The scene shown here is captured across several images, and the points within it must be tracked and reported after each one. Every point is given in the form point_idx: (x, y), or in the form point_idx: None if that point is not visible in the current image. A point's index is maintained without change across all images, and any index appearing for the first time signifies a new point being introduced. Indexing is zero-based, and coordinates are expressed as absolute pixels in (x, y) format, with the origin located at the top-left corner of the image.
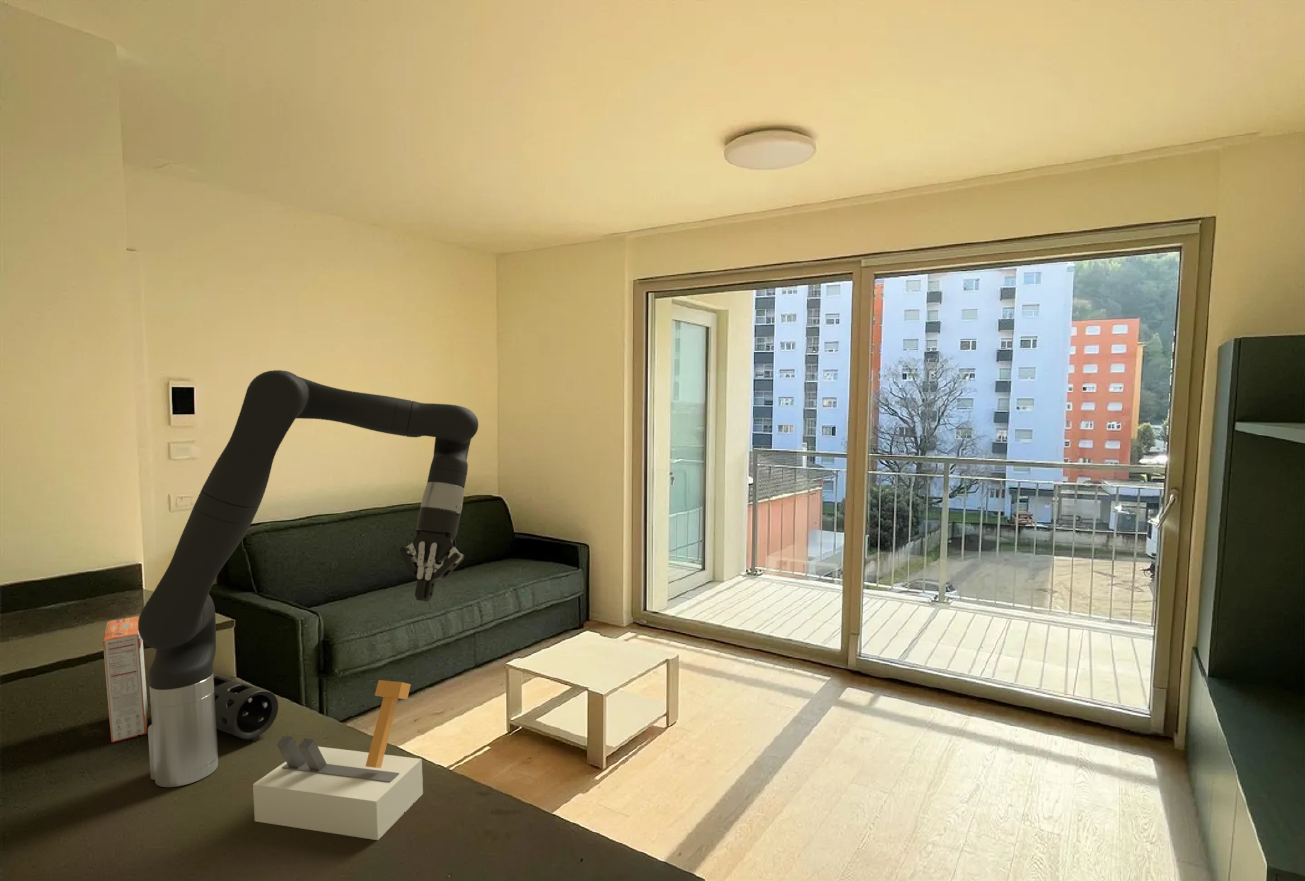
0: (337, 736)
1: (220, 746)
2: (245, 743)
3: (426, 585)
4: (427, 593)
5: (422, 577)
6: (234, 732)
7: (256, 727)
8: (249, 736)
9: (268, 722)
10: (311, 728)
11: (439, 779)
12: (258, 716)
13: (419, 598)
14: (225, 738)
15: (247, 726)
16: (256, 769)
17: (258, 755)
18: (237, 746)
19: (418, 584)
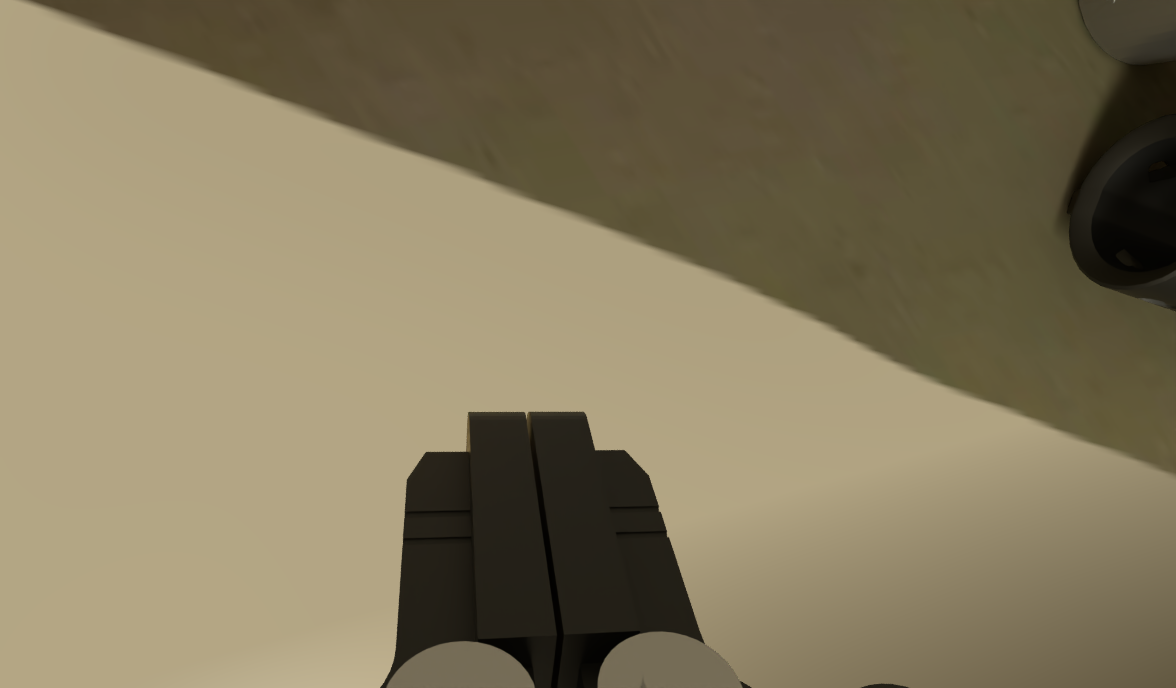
0: (824, 287)
1: None
2: None
3: (474, 585)
4: (430, 501)
5: (600, 679)
6: (1149, 123)
7: (1108, 224)
8: (1096, 173)
9: (1087, 247)
10: (944, 319)
11: (252, 65)
12: (1142, 268)
13: (529, 412)
14: None
15: (1140, 226)
16: (958, 31)
17: (1005, 117)
18: None
19: (653, 591)
